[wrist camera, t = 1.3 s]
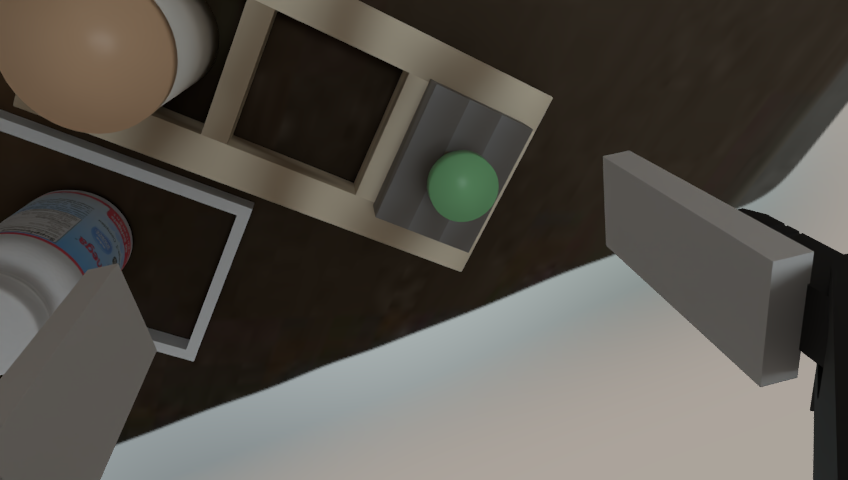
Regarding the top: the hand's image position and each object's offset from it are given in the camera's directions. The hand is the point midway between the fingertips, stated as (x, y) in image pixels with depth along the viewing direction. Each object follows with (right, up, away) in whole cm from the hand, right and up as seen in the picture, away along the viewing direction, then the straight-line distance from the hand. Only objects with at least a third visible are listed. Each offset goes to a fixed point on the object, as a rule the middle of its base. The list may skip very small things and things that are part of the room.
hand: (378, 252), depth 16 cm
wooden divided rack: (-6, +9, +18) cm, 21 cm away
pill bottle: (-19, +1, +19) cm, 27 cm away
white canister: (-13, +12, +16) cm, 23 cm away
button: (+3, +4, +17) cm, 17 cm away
